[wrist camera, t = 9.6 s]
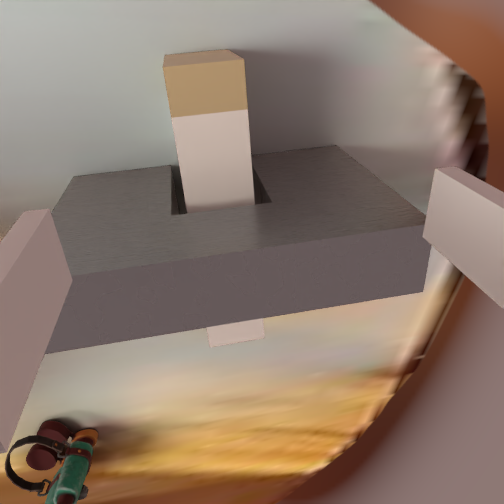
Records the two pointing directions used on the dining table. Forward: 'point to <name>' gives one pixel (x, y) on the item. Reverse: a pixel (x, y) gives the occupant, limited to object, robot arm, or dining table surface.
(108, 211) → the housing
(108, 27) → the dining table surface
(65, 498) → the binoculars
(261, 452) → the dining table surface
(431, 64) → the dining table surface
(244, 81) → the grey rectangular block
